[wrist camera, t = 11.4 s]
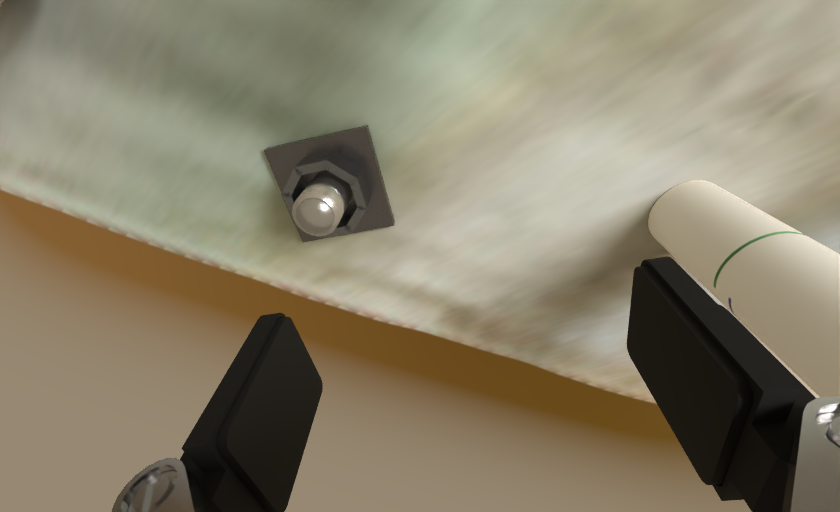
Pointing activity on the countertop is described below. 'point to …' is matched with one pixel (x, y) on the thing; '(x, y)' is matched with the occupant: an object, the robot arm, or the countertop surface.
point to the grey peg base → (332, 183)
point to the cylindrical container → (759, 275)
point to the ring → (340, 169)
